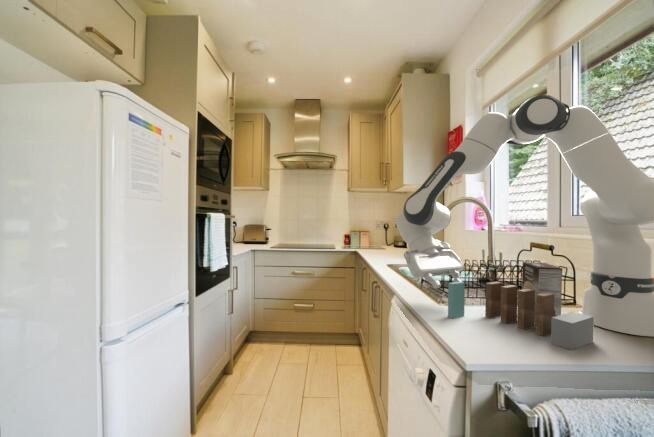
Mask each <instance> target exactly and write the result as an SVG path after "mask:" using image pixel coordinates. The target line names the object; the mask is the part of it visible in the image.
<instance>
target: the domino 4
mask: <svg viewBox="0 0 654 437" xmlns="http://www.w3.org/2000/svg"><path fill="white" fill-rule="evenodd" d="M534 319H535V290H533V289H523V290H522V289H519V290H517V321H516V323H517V324H516V326H517V329H521V330H528V329H531V328H534V327H535V323H534Z"/></svg>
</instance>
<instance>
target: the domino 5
mask: <svg viewBox="0 0 654 437" xmlns="http://www.w3.org/2000/svg"><path fill="white" fill-rule="evenodd" d="M552 317H554V294H552V293H542V294H537V297H536V323H535V335H537V336H541V337H545V336H549V335H551V319H552Z"/></svg>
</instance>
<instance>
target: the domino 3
mask: <svg viewBox="0 0 654 437" xmlns="http://www.w3.org/2000/svg"><path fill="white" fill-rule="evenodd" d="M518 288H519V286H518V285H515V284H509V285H502V286H501V316H500V322H501V323H504V324H511V323H515V322H517V311H518Z"/></svg>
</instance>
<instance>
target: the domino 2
mask: <svg viewBox="0 0 654 437" xmlns="http://www.w3.org/2000/svg"><path fill="white" fill-rule="evenodd" d="M501 286H503V283H502V282H500V281H492V282H486V283H485V315H484V316H485V318H488V319H494V318H498V317H501Z"/></svg>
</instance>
